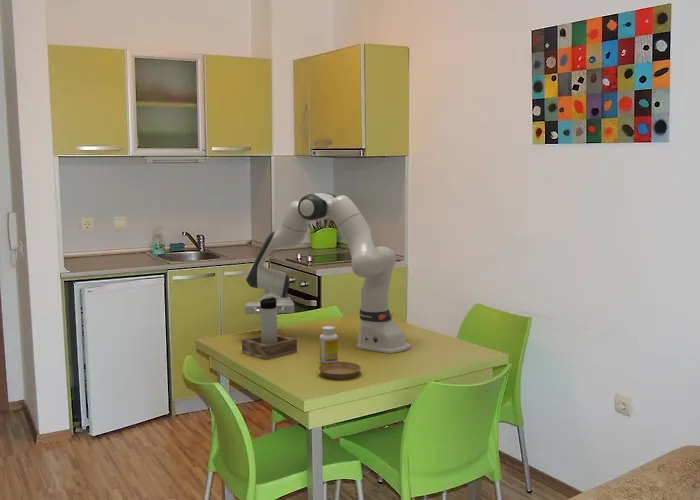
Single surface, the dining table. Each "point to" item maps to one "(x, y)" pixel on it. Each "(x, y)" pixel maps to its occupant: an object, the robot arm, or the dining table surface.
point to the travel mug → (268, 321)
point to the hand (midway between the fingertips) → (269, 311)
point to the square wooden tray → (269, 347)
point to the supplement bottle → (328, 345)
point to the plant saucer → (339, 370)
